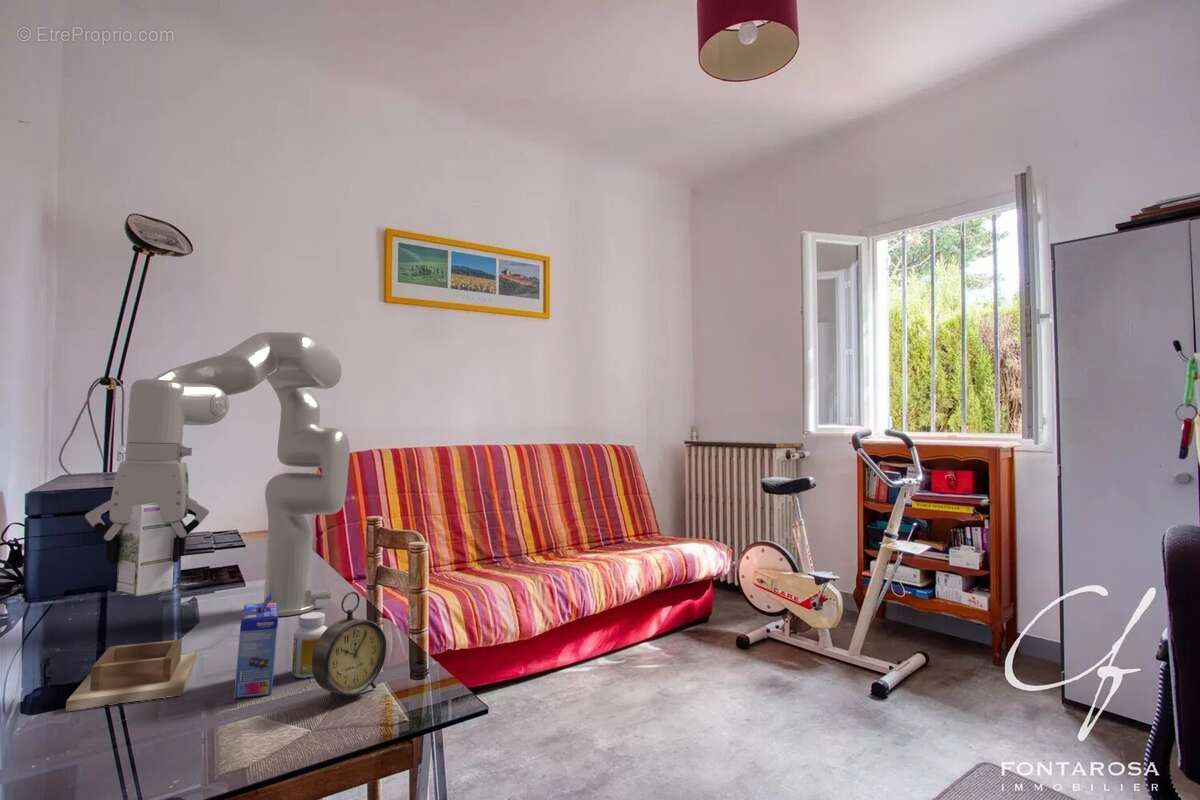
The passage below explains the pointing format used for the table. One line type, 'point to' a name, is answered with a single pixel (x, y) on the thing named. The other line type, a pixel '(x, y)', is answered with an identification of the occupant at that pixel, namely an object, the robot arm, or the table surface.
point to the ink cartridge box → (257, 649)
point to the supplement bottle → (306, 643)
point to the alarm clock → (349, 655)
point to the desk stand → (134, 675)
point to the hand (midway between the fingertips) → (146, 561)
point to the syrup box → (145, 553)
